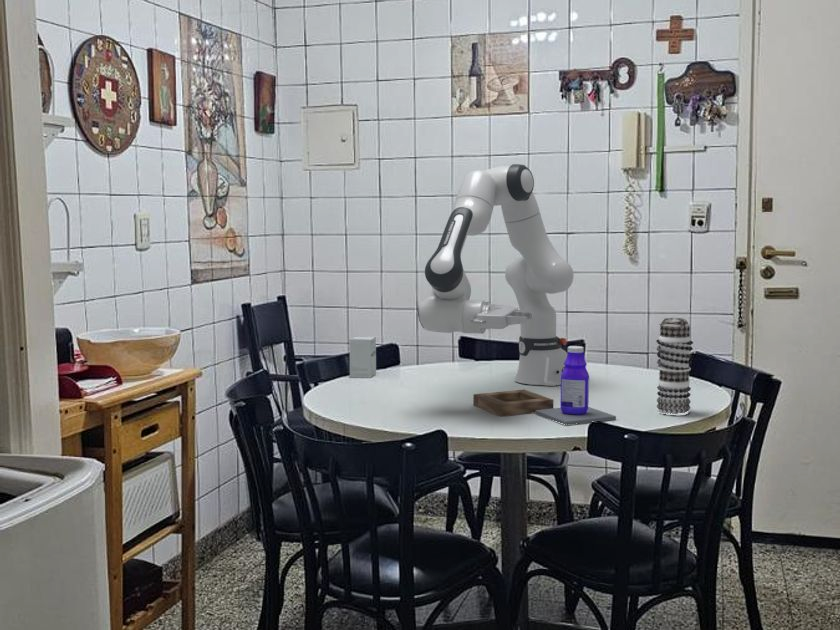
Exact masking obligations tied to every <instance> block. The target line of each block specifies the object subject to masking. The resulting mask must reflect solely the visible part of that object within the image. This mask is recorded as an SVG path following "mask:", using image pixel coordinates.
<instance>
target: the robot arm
mask: <svg viewBox="0 0 840 630" xmlns="http://www.w3.org/2000/svg"><path fill="white" fill-rule="evenodd" d="M534 187H535V180H534V175H533V173H532V171H531V170H530V169H529V168H528V167H527V166H526V165H524V164H520V163H519V164H518V163H516V164H515V163H514V164H510V165H499V166H494V167H492V168H488V169H484V170H479V169H477V170H472V171H470V172H468V173H467V174H466V175H465V176H464V178H463V181H461V184H460V186H459V189H458V191H457V194H456V196H455V199H454V203H453V207H452V210H451V213H450V215H449V217H448V220H447V222H446V225H445V227H444V231H443V233H442V236H441V238H440V241H439V243H438V245H437V248H436V250H435V251H434V253H433V254H432V255H431V256H430V258H429V259H428V261H427V263H426V265H425V268H424V276H425V279H426V280H427V282H428V284H429V285H430V286H431V288H432V289H431V290H430V292H429V294H428V295H427V296H426V297H425V299H423V300H422V301H420V302H419V303H418V306H417V317H418V320H419V323H420V325H421V327H422V328H423V330H425V331H428V332H433V333H445V334H451V333H456V332H459V333H462V334H476V335H477V334H479V335H481V334H485V333H486V330H490V329H491V330H504V329H505V328H507V327H509V326H512V325H520V336H519V338H518V351H519V360H518V366H517V367H518V368H517V373H516V377H515V380H514V381H515V382H516V383H520V384H522V385H523V384H525V385H533V386H548V387H556V385H557V386H561V374H562V372H563V369H564V367H565V365H564V362H565V360H566V358H567V353H568V351H566V350H564V349H563V348H562V345H564V346H566V345H567V344H568V342H569V341H568V339H567V338H565V337H561V338H560V337H559V336H557V312H556V310H555V308H554V307H553V305H552V304H550V302H549V299H548V296H547V294H558V293H563V292H566V291H568V290H569V289H570V287H572V284H573V281H574V270H573V267H572V266H571V264H570V263H569V262H568V261H567V260H565V259H564V258H563V257H562V256H561V255H560V254H559V253H558V251H557V250H556V248H555V247H554V245H553V244H552V242H551V240H550V238H549V236H548V234H547V231H546V228H545V226H544V222H543V217H542V215H541V211H540V207H539V204H538V201H537V199H536V196H535V195H534V192H533V191H534ZM496 206H500V207H501V211H502V217H503V220H504V225H505V229H506V232H507V235H508V238H509V242H510V244H511V246H512V247H513V248H514V249H515V250H516V251H518V252H519V254H520V255H521V256H519V257H516V258H513V259H511V260H510V261H509V262H508V263H507V265H506V267H505V271H504V277H505V280H506V282H507V284H508V285H509V286H510V287H511V289H512V290H513V293H514V295H515V298H516V301H517V304H518V307H517V306H513V305H505V304H497V303H495V304H493V303H491V302H490V301H485V300H483V299H482V300H473V299H471V293H472V287H471V284H470V281H469V278H468V276H467V275H466V274H467V273H465V269H464V267H463V264H462V258H461V257H462V252H463V249H464V246H465V243H466V242H467V241H466V240H467V238H468V236H469V237H470V236H473V237H474V236H478V235H480V234H482V233H484V232H485V231H486V230H487V228H488V225H489V224H490V222H491V219H492V215H493V210H494V207H496ZM470 299H471V300H470Z"/></svg>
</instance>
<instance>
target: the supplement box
mask: <svg viewBox="0 0 840 630" xmlns="http://www.w3.org/2000/svg"><path fill="white" fill-rule="evenodd" d="M348 340H349V341H348V343H349V347H348V348H349V378H356V379H357V378H358V379H359V378H360V379H361V378H362V379H363V378H364V379H371V378H372V377H373V376H375V375H377V339H376V336H354V337H352V338H350V339H348Z"/></svg>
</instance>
